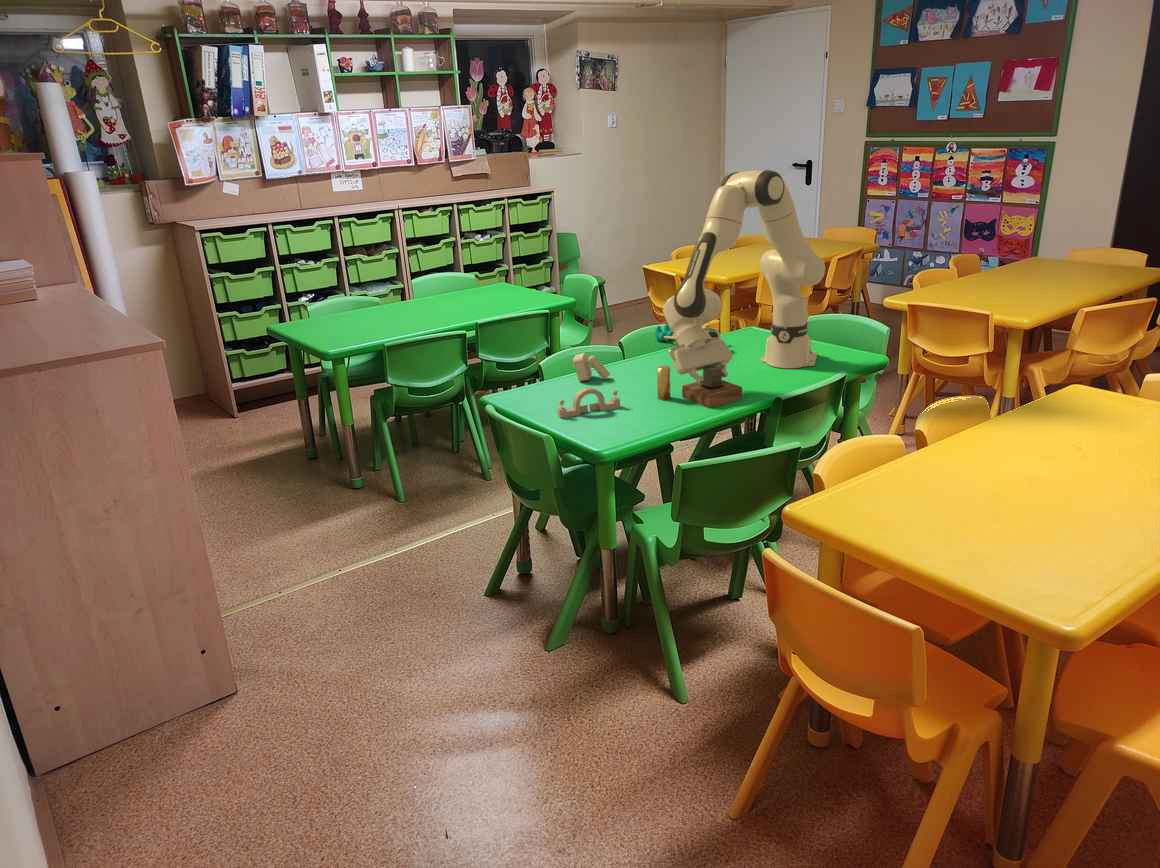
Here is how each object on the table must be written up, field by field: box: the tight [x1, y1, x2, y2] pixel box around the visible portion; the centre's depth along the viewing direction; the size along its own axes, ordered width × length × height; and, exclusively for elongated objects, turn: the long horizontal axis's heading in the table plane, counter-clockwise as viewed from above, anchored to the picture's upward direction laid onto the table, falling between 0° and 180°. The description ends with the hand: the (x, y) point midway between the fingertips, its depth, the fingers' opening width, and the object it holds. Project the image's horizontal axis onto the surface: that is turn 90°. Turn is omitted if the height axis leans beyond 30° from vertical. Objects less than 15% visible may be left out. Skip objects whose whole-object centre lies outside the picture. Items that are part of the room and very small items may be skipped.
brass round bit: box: [656, 365, 671, 401], centre depth 252 cm, size 4×4×10 cm
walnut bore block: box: [681, 379, 743, 409], centre depth 251 cm, size 13×13×4 cm
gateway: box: [556, 386, 621, 419], centre depth 245 cm, size 20×2×8 cm, turn 112°
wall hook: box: [572, 352, 611, 383], centre depth 275 cm, size 8×10×10 cm
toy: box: [654, 323, 719, 346], centre depth 309 cm, size 22×10×30 cm
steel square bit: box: [702, 365, 723, 390], centre depth 250 cm, size 4×4×10 cm
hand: (713, 379), depth 249 cm, fingers open, 8 cm apart
